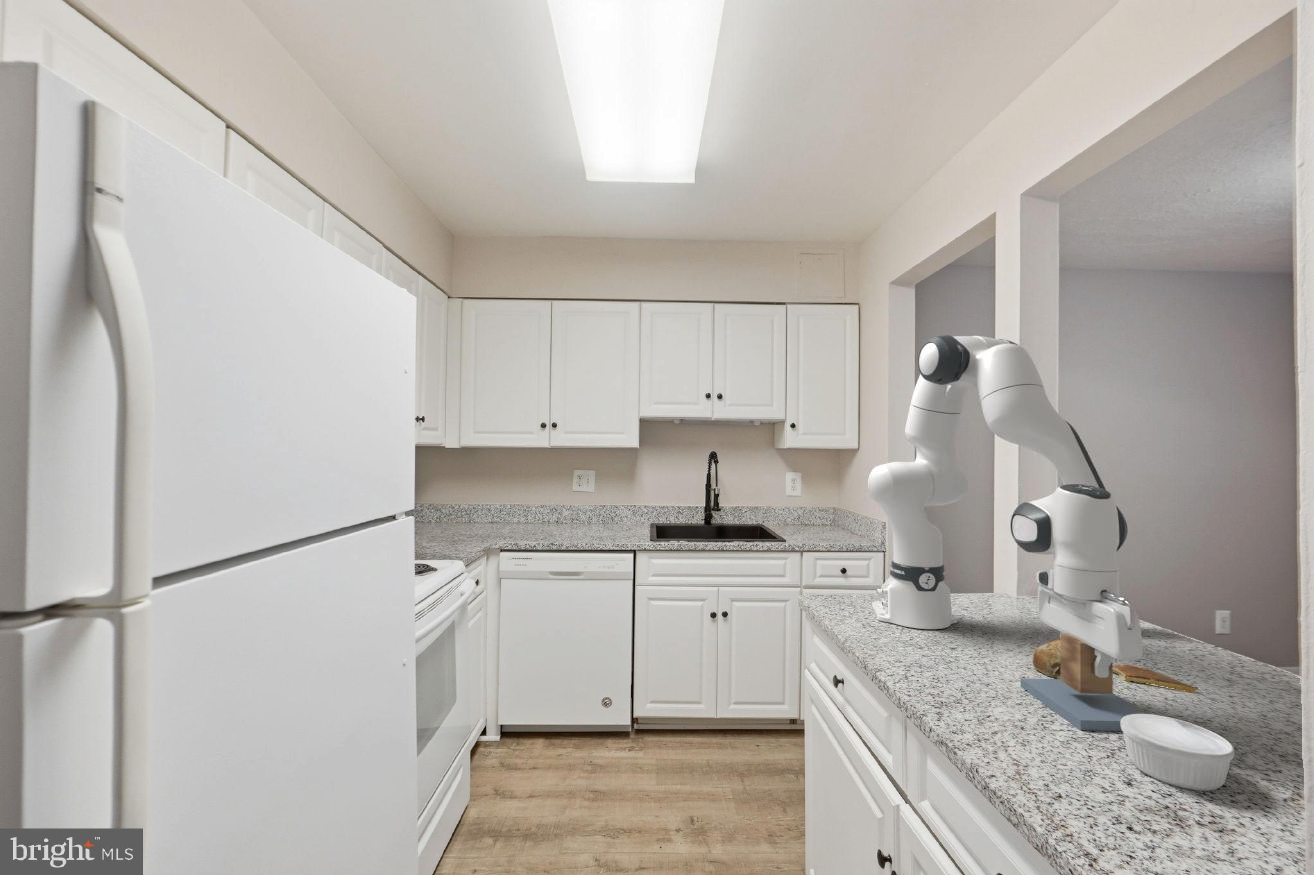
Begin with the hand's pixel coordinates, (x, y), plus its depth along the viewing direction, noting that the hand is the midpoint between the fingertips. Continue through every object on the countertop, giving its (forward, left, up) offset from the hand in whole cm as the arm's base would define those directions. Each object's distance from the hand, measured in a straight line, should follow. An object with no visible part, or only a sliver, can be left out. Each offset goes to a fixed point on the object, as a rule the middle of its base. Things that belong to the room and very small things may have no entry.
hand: (1085, 668), depth 97 cm
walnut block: (0, 0, -3) cm, 3 cm away
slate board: (0, 0, -6) cm, 6 cm away
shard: (-13, +20, -7) cm, 25 cm away
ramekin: (+19, -1, -7) cm, 20 cm away
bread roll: (-16, +6, -7) cm, 18 cm away
